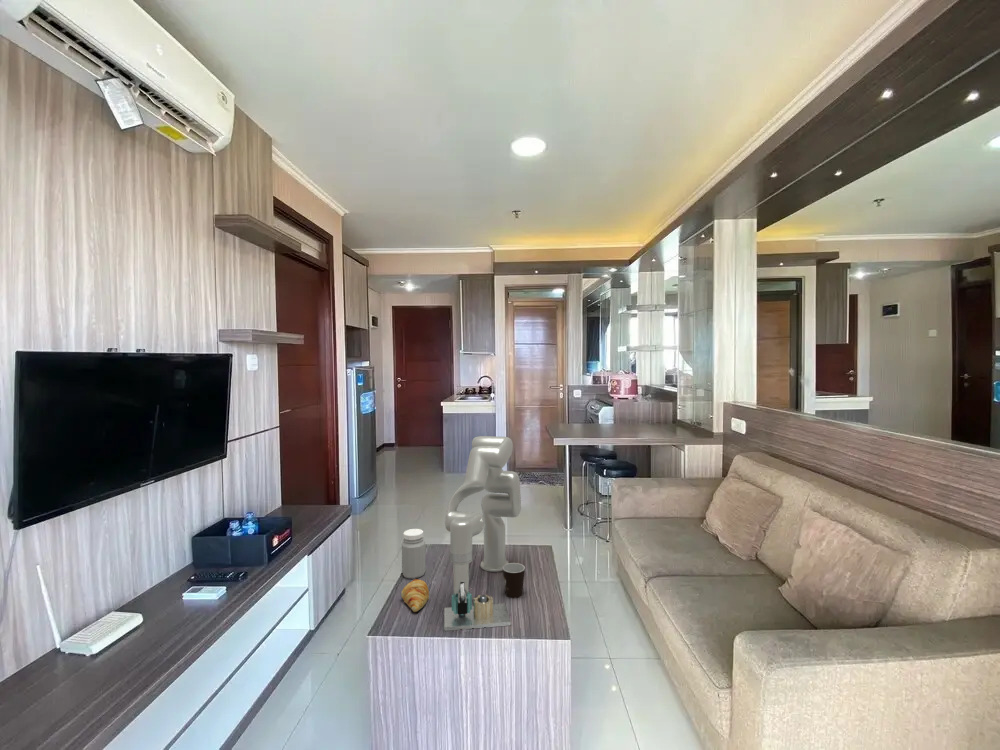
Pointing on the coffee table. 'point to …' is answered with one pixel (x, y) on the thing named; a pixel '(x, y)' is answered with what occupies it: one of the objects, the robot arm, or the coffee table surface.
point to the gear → (455, 604)
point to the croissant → (415, 594)
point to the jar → (413, 554)
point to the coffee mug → (513, 579)
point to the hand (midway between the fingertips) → (461, 607)
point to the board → (476, 622)
